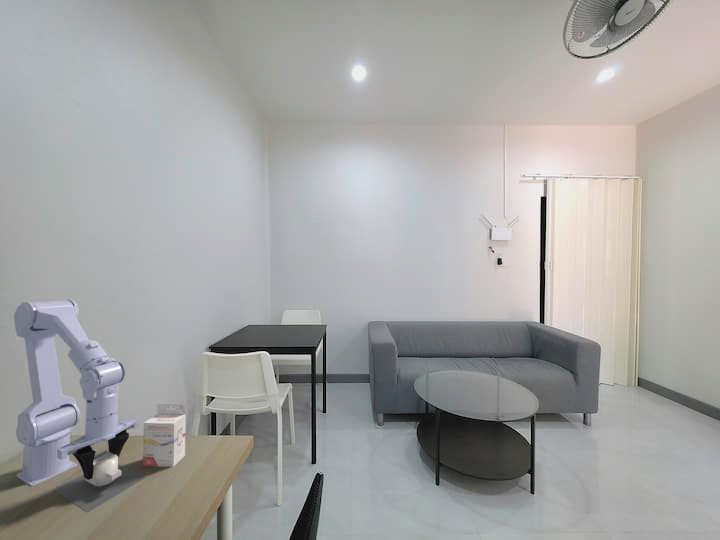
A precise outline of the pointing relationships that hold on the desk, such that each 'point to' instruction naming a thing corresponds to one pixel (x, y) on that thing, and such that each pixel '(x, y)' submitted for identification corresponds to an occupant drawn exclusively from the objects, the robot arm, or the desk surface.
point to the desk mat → (97, 489)
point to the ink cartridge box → (165, 436)
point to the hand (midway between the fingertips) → (100, 471)
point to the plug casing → (104, 468)
